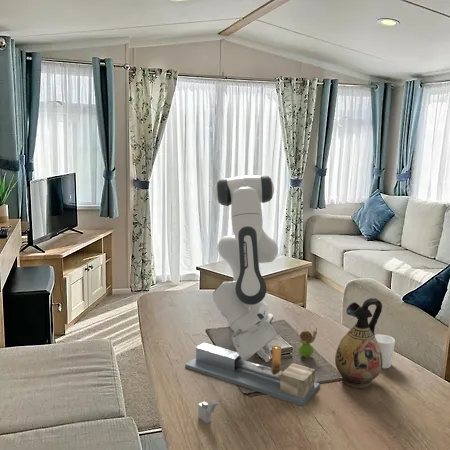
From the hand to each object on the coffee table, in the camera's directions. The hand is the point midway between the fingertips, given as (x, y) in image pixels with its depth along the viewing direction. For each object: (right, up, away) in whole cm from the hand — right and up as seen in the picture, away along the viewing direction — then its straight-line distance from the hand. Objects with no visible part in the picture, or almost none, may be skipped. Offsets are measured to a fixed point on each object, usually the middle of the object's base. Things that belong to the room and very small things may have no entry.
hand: (270, 359), depth 165 cm
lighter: (-20, -13, -21) cm, 32 cm away
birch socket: (+8, -8, -4) cm, 12 cm away
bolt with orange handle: (-3, -6, +3) cm, 7 cm away
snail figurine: (+16, -5, +21) cm, 27 cm away
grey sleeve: (-17, -5, +12) cm, 22 cm away
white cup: (+42, -6, +17) cm, 46 cm away
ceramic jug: (+31, -9, +4) cm, 32 cm away
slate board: (-6, -7, +6) cm, 11 cm away
